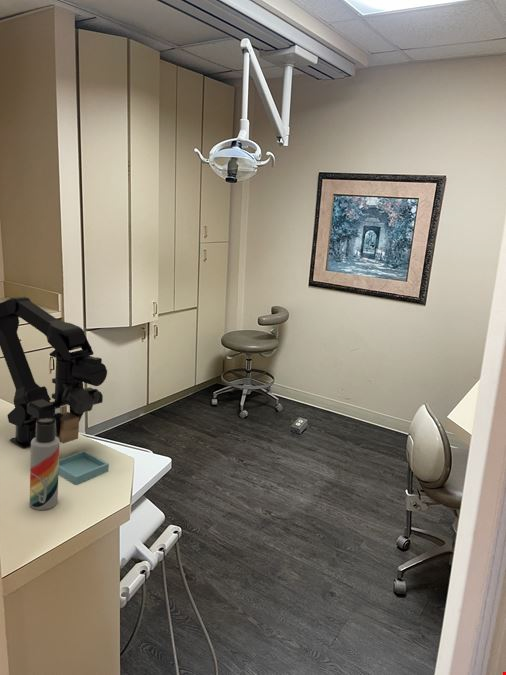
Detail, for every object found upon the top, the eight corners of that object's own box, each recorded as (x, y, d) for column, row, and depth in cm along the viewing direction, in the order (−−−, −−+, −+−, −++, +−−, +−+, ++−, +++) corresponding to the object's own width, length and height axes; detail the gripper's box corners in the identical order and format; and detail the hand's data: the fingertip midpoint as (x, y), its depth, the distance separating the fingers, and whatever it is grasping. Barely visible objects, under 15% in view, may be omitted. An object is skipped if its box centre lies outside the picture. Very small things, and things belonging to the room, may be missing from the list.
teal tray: (51, 469, 124) (51, 462, 123) (84, 457, 132) (84, 450, 131) (75, 484, 119) (75, 477, 118) (108, 470, 127) (108, 463, 126)
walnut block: (52, 437, 129) (53, 416, 128) (67, 432, 133) (68, 411, 131) (63, 443, 127) (63, 421, 125) (78, 438, 130) (79, 417, 129)
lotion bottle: (29, 512, 107) (31, 425, 102) (29, 497, 112) (31, 414, 107) (58, 508, 109) (61, 423, 104) (56, 494, 114) (59, 413, 109)
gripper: (54, 393, 114) (52, 455, 118) (118, 377, 129) (114, 433, 133) (25, 380, 120) (24, 439, 123) (90, 366, 135) (87, 420, 139)
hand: (65, 433), depth 129 cm, fingers closed on walnut block, 4 cm apart
